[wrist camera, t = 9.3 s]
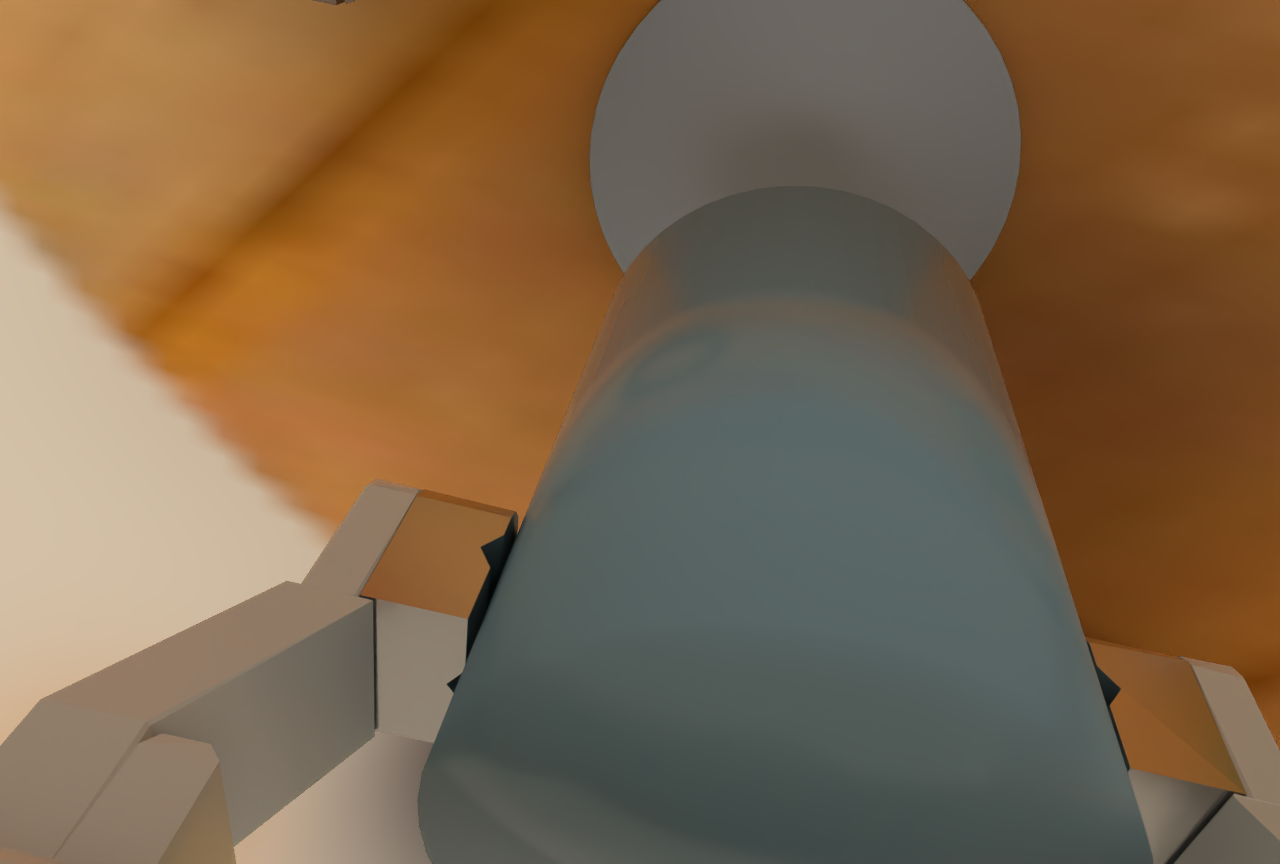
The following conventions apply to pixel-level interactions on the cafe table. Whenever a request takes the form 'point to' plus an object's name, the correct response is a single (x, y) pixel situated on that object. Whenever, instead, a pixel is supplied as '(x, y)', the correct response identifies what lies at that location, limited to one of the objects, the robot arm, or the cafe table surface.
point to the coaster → (808, 115)
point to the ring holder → (335, 1)
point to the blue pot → (784, 582)
